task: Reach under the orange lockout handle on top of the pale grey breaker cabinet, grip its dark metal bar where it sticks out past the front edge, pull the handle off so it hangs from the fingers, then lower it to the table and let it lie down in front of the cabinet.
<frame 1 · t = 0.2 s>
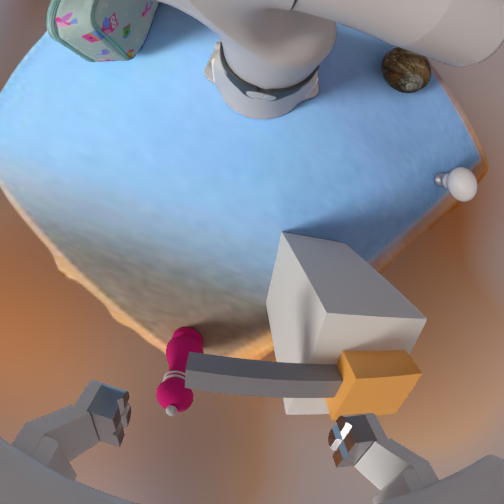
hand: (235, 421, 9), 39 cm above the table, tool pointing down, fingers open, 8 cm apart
breaker cabinet: (305, 274, 50), on the table
lockout handle: (365, 372, 25), point 26 cm above the table, touching breaker cabinet
pepper mill: (187, 338, 53), on the table
seashell: (399, 74, 38), on the table
lunch box: (136, 10, 31), on the table
lightbulb: (437, 178, 45), on the table
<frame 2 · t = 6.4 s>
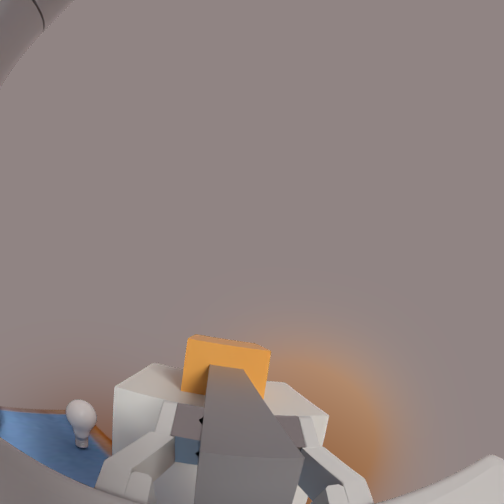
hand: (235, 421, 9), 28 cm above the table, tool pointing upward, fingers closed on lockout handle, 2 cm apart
lockout handle: (220, 385, 21), point 26 cm above the table, touching breaker cabinet, gripper
lightbulb: (82, 447, 34), on the table
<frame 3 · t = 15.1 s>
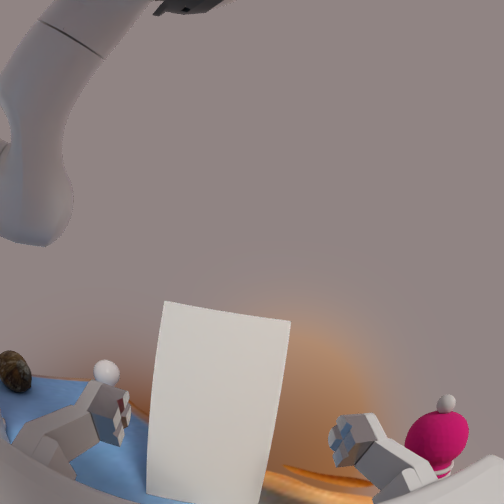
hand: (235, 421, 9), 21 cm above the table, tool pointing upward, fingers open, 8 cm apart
breaker cabinet: (202, 482, 28), on the table
seashell: (15, 387, 35), on the table
lightbulb: (104, 404, 48), on the table
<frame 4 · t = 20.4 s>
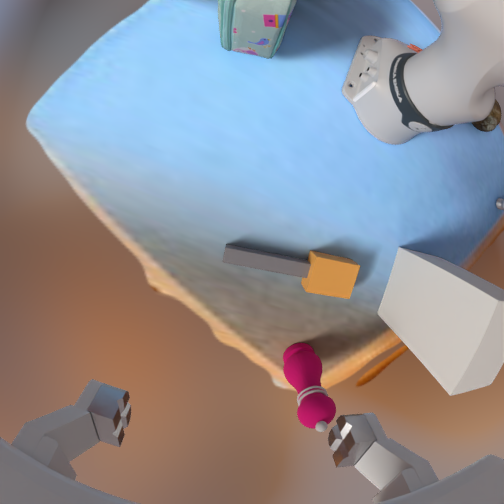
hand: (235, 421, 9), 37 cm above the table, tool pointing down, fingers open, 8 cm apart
breaker cabinet: (410, 285, 49), on the table
lockout handle: (326, 271, 47), on the table
pepper mill: (298, 354, 52), on the table
seashell: (475, 114, 40), on the table
lunch box: (261, 9, 34), on the table
lightbulb: (496, 203, 45), on the table
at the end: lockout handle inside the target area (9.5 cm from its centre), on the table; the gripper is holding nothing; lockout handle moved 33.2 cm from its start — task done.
